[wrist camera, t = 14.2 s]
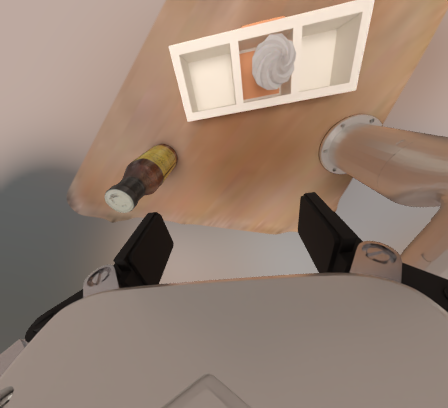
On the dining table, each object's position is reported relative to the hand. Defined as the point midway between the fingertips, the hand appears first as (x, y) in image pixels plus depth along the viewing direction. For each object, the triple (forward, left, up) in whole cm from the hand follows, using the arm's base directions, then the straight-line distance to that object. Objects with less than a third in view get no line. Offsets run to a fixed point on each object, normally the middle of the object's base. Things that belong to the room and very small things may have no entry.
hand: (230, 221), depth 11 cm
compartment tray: (-7, -10, -30) cm, 33 cm away
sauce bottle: (+16, +2, -31) cm, 34 cm away
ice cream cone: (-7, -10, -29) cm, 32 cm away
